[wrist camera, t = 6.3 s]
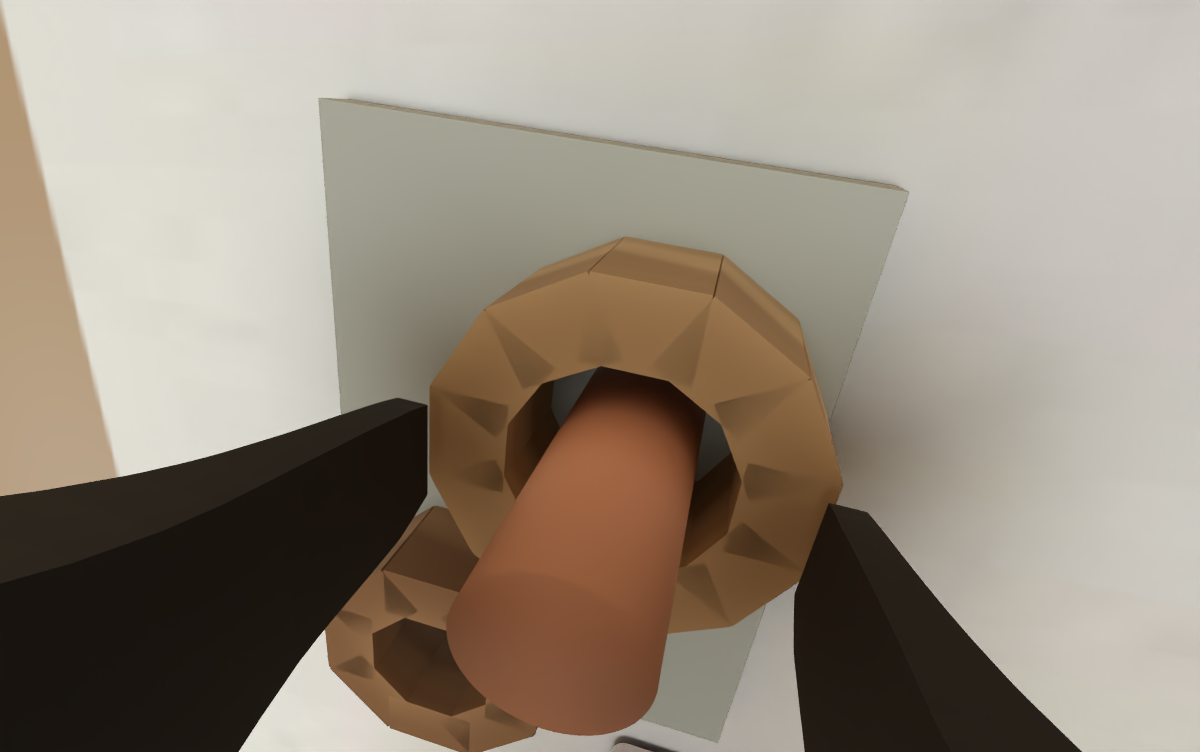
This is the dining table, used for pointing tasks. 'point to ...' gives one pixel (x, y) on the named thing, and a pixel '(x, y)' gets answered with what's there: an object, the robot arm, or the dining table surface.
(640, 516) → the orange rounded peg
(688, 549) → the oak bead
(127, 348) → the dining table surface
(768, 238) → the board
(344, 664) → the walnut bead
